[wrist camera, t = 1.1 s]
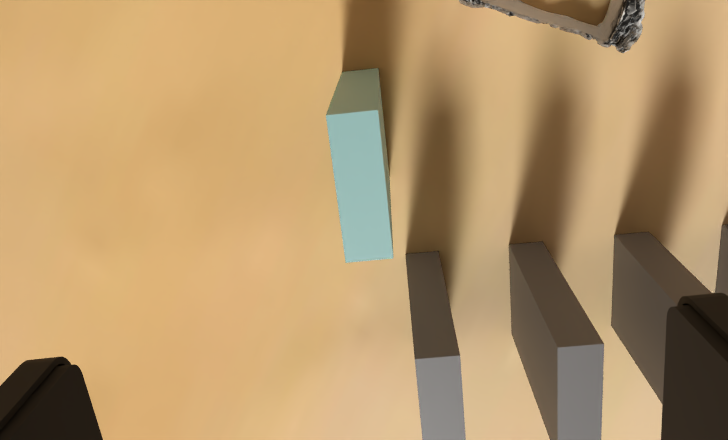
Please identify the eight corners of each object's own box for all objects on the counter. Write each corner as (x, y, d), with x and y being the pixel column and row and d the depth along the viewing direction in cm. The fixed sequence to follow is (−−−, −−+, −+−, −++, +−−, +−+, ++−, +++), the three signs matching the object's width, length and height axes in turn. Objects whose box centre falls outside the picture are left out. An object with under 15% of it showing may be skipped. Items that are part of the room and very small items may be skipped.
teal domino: (342, 71, 28) (326, 115, 19) (378, 67, 28) (377, 109, 19) (355, 180, 30) (345, 262, 21) (389, 176, 30) (393, 258, 21)
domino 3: (614, 234, 30) (703, 335, 22) (648, 231, 30) (751, 331, 22) (611, 325, 32) (692, 450, 24) (643, 323, 32) (736, 447, 24)
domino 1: (405, 254, 31) (414, 359, 23) (438, 251, 31) (460, 355, 22) (414, 342, 33) (425, 469, 24) (445, 339, 33) (467, 466, 24)
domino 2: (508, 244, 31) (557, 347, 22) (542, 241, 31) (603, 343, 22) (511, 333, 32) (557, 460, 24) (543, 331, 32) (600, 457, 24)
